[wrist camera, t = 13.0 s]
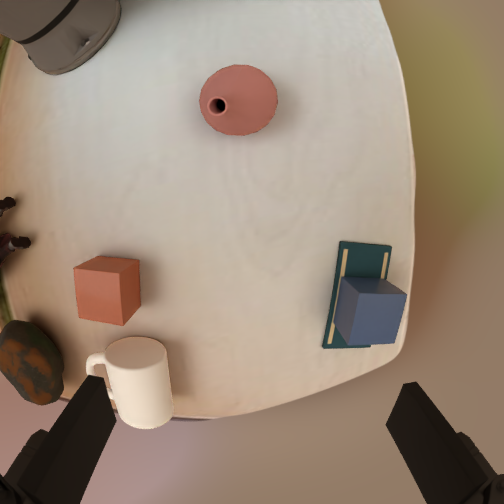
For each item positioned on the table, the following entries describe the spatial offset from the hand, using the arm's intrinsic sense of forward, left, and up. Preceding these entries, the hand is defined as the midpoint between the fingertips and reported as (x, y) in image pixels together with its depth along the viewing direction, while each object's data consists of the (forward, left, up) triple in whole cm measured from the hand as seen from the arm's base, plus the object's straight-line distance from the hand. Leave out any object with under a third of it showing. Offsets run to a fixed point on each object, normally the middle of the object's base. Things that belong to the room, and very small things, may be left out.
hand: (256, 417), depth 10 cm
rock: (+16, -32, -23) cm, 42 cm away
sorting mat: (+3, +14, -23) cm, 27 cm away
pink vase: (-20, -2, -23) cm, 30 cm away
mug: (+15, -15, -23) cm, 32 cm away
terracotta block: (+3, -16, -23) cm, 28 cm away
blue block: (+3, +14, -22) cm, 27 cm away
